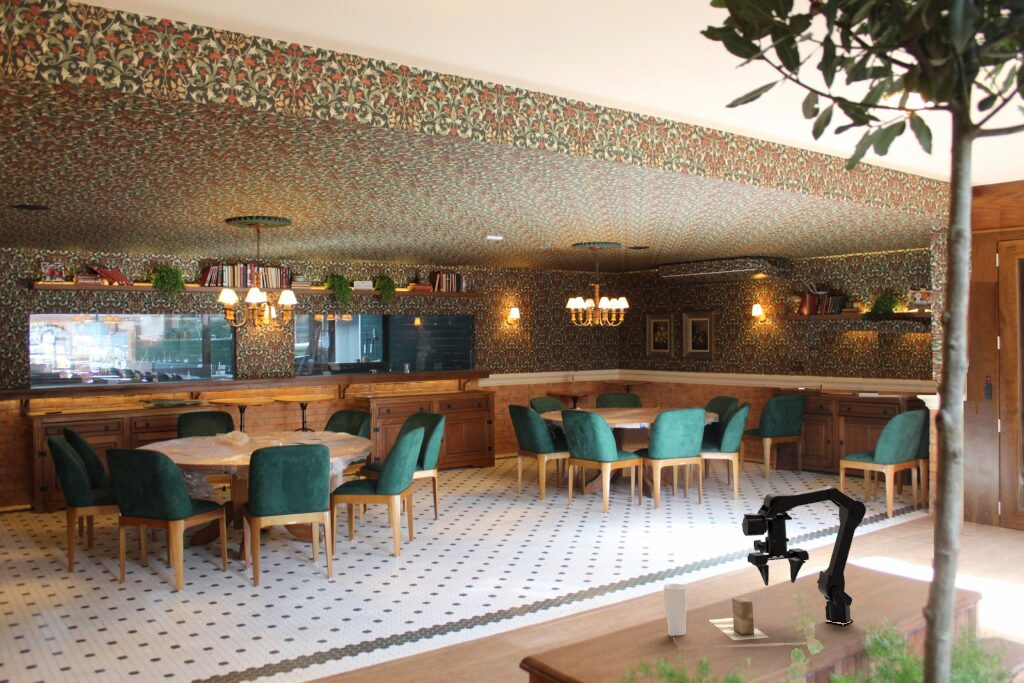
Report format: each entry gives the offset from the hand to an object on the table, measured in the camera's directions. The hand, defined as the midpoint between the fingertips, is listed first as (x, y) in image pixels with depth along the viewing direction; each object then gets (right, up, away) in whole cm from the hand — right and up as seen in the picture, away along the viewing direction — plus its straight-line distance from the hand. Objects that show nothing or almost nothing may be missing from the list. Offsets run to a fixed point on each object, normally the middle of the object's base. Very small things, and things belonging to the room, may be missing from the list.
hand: (779, 584), depth 268 cm
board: (-14, -14, -4) cm, 20 cm away
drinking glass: (-33, -15, -6) cm, 37 cm away
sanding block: (-14, -12, -9) cm, 20 cm away
